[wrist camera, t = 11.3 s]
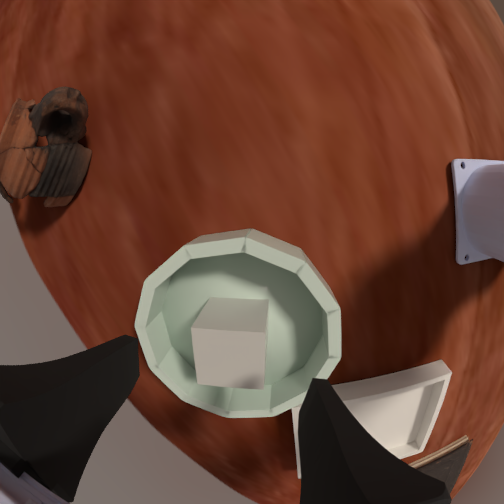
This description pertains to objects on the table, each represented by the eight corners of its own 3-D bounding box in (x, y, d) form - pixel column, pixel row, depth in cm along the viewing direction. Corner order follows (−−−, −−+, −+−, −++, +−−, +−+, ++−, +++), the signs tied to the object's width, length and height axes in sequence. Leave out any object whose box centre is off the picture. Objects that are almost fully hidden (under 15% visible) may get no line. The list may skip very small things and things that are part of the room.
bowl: (324, 219, 17) (334, 225, 14) (332, 380, 20) (339, 408, 17) (140, 245, 19) (115, 255, 16) (181, 389, 22) (169, 414, 18)
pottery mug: (55, 232, 20) (-21, 219, 13) (61, 155, 23) (-1, 136, 16) (123, 149, 15) (11, 108, 8) (124, 74, 18) (50, 37, 11)
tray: (441, 359, 19) (451, 372, 17) (417, 438, 21) (422, 451, 19) (291, 390, 21) (291, 407, 18) (297, 463, 23) (298, 478, 21)
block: (267, 349, 19) (263, 389, 15) (213, 346, 20) (197, 384, 15) (268, 299, 18) (265, 332, 14) (210, 297, 19) (190, 327, 14)
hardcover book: (467, 430, 21) (473, 440, 19) (446, 487, 25) (449, 495, 23) (359, 477, 24) (362, 490, 22) (369, 518, 28) (371, 527, 26)
